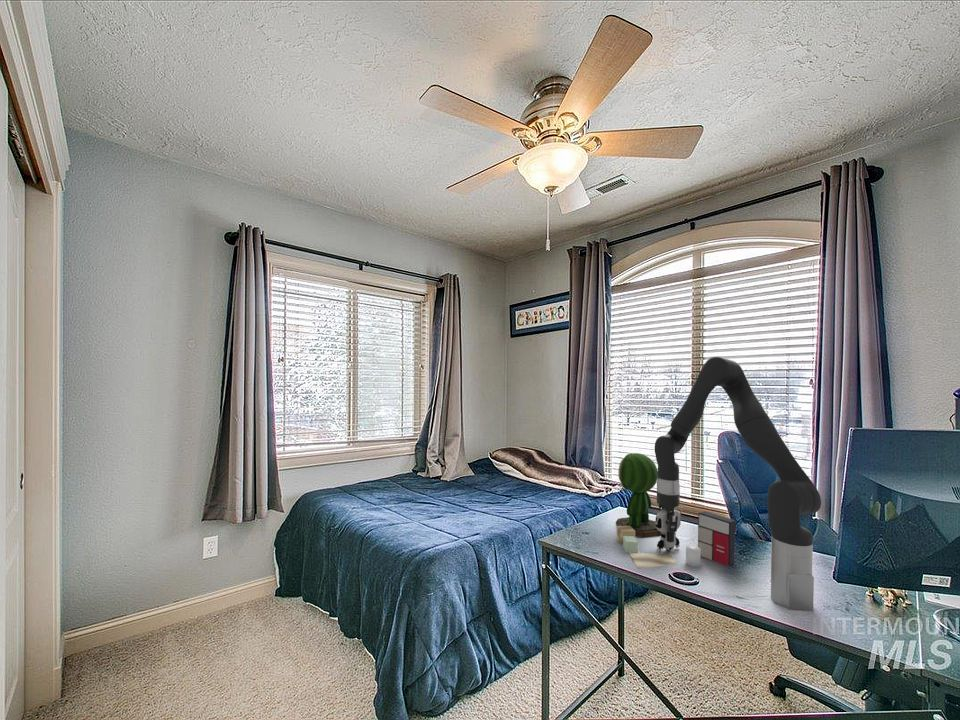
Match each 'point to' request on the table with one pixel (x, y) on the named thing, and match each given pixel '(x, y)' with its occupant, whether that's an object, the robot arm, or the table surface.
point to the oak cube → (624, 532)
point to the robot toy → (662, 528)
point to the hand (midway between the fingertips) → (667, 538)
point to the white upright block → (693, 555)
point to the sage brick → (630, 544)
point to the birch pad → (651, 560)
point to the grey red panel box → (716, 537)
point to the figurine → (638, 493)
